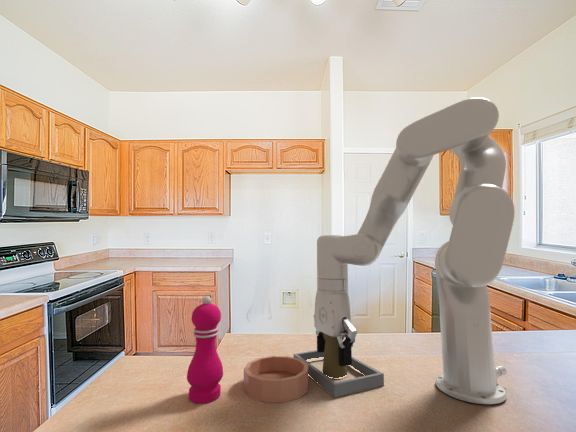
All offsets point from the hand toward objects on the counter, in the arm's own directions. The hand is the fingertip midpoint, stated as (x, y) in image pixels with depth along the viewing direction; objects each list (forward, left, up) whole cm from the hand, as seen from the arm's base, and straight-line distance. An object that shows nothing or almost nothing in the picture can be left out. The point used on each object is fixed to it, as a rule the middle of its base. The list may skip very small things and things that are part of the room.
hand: (333, 357), depth 72 cm
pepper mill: (+30, -2, -4) cm, 30 cm away
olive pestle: (0, 0, -4) cm, 4 cm away
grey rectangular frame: (0, 0, -4) cm, 4 cm away
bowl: (+15, 0, -4) cm, 15 cm away
